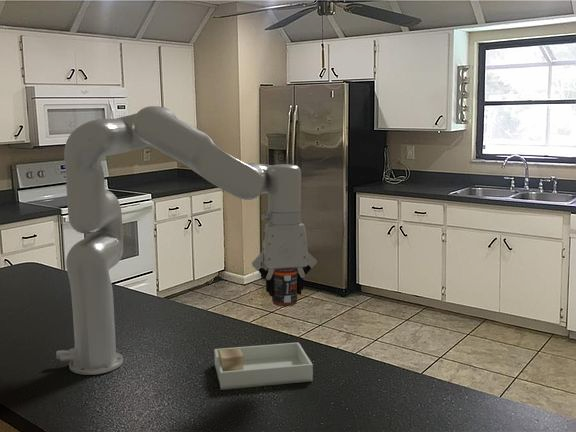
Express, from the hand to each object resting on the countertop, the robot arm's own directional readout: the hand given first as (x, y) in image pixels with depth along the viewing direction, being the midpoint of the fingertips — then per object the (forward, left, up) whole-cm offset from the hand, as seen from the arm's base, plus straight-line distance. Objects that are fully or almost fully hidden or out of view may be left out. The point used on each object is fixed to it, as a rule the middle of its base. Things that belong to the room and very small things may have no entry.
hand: (284, 293), depth 145 cm
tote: (-6, 0, -19) cm, 20 cm away
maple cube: (-13, 0, -19) cm, 23 cm away
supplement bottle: (0, 0, -3) cm, 3 cm away
